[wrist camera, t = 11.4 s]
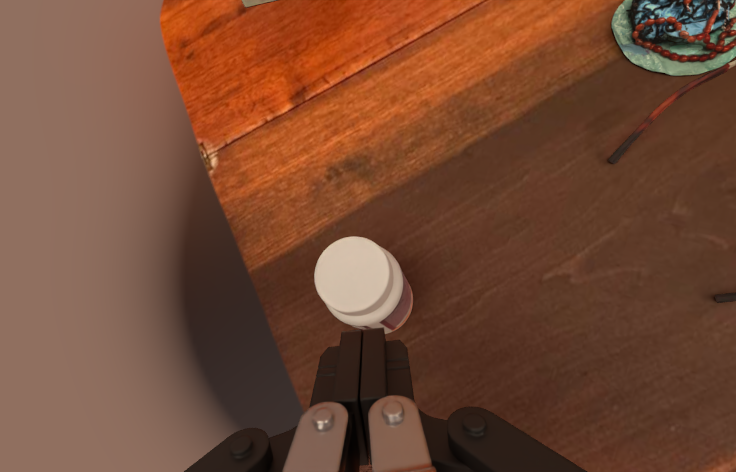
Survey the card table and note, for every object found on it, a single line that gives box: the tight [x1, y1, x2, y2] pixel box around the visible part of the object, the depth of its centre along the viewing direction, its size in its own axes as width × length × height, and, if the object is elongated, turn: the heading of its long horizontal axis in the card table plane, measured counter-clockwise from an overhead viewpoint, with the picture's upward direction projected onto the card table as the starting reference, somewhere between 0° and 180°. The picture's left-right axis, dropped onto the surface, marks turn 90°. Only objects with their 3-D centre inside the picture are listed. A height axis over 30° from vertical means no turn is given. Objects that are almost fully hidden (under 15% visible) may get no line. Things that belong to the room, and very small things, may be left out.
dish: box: [612, 0, 736, 76], centre depth 29 cm, size 8×7×8 cm
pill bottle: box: [314, 237, 413, 334], centre depth 24 cm, size 5×5×8 cm
